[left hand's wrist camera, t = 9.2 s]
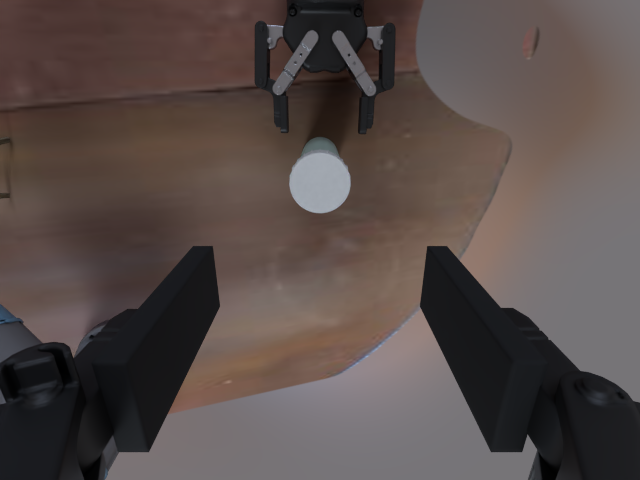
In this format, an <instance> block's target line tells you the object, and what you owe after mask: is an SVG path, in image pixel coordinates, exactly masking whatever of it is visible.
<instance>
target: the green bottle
mask: <svg viewBox="0 0 640 480" xmlns="http://www.w3.org/2000/svg"><path fill="white" fill-rule="evenodd" d="M319 149H321V150H327V151H328V150H329V151H330V152H332V153H334V154H335V153H336V154H337V156H339V154H338V151H337V148H336V146H335V145H334V143H333V142H332V141H331V140H329V139H327V138H324V137H316V138H313V139H311V140H309V141H308V142H307V143H306V145H305V146H304V148H303V151H302V154H301V156H303V155H304V153H305V154H306V153H308V152H310V151H311V150H319Z"/></svg>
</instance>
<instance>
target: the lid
mask: <svg viewBox="0 0 640 480" xmlns="http://www.w3.org/2000/svg"><path fill="white" fill-rule="evenodd" d="M292 169H293V170H292V172H291V174H290V176H289V177H290V183H289V185H290V190H291V194H292V196H293V198H294V199H295V201H296V202H297V203H298V204H299V205H300V206H301V207H302V208H304V209H306V210H308V211H310V212H314V213H326V212H330V211H333V210H334V209H336V208H338V207H339V206H340V205H341V204H342V203H343V202H344V201H345V199H346V198H347V196H348V194H349V191H350V186H351V182H350V177H351V176H350V174H349V172H348V170H347V169H348V167H347V165H345V163H344V162H343V159H341V158H340V157H339V156H337V154H336V153H335V154H334V153H332V152H330V151H329V150H328V151H327V150H321V149H319V150H311V151H310V152H308V153H306V154H305V153H304V155H303V156H301V157H300V158H298V159H297V162H296V163H295V165H293V167H292Z"/></svg>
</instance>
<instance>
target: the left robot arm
mask: <svg viewBox="0 0 640 480" xmlns="http://www.w3.org/2000/svg"><path fill="white" fill-rule="evenodd" d="M219 307H220V302H219V294H218V286H217V278H216V270H215V261H214V253H213V246H193V247H192V248H191V249H190V250H189V252H188V253H187V254H186V255H185V256H184V257H183V258H182V260H181V261H180V262H179V263H178V264H177V265H176V266H175V268H174V269H173V270H172V271H171V272H170V273H169V274H168V276H167V277H166V278H165V279H164V280H163V281H162V282H161V284H160V285H159V286H158V287H157V288H156V289H155V290H154V292H153V293H152V294H151V295H150V296H149V297H148V298H147V300H146V301H145V302H144V303H143V304H142V305H141V306H140V308H139V309H127V310H125V311H124V312H122V313H120V314H119V315H117V316H115V317H114V318H112V319H111V320H108V321H105V322H102V323H100V324H98V325H97V326H95V327H94V328H93V329H92V330H91V331H90V332H89V333H88V334H87V335H86V336H85V337H84V338H83V339H82V341H81V342H80V344H79V347H78V349H77V351H76V354H75V356H74V358H73V356H72V353H71V350H70V347H69V346H67V345H66V344H64V343H58V342H50V343H42V342H41V341H40V340H39V339H38V338H37V337H36V336H35V335H34V334H33V333H32V332H31V331H29V330H28V329H27V328H26V327H25V326H24V325H23V321H22V320H21V319H20V318H16V317H15V316H14V315H12V314H11V313H10V312H9V311H8V310H7V309H6V308H4V307H3V306H2V305H1V304H0V480H105V479H106V477H107V475H108V471H109V469H110V467H111V466H112V464H113V462H114V460H115V458H116V457H117V455H118V453H119V452H149V451H150V449H151V447H152V445H153V443H154V440H155V438H156V436H157V434H158V432H159V430H160V428H161V426H162V424H163V422H164V420H165V418H166V416H167V414H168V412H169V410H170V408H171V406H172V404H173V402H174V399H175V397H176V395H177V393H178V391H179V389H180V387H181V385H182V383H183V381H184V379H185V377H186V375H187V373H188V371H189V369H190V367H191V365H192V363H193V361H194V359H195V356H196V354H197V352H198V350H199V348H200V346H201V344H202V342H203V340H204V338H205V336H206V334H207V332H208V330H209V328H210V326H211V324H212V322H213V320H214V318H215V316H216V313H217V311H218V309H219ZM420 307H421V309H422V311H423V313H424V316H425V318H426V320H427V322H428V324H429V326H430V328H431V330H432V332H433V334H434V336H435V338H436V340H437V342H438V344H439V346H440V348H441V350H442V352H443V354H444V356H445V359H446V361H447V363H448V365H449V367H450V369H451V371H452V373H453V375H454V377H455V379H456V381H457V383H458V385H459V387H460V389H461V391H462V393H463V395H464V397H465V399H466V402H467V404H468V406H469V408H470V410H471V412H472V414H473V416H474V418H475V420H476V422H477V424H478V426H479V428H480V430H481V432H482V434H483V436H484V438H485V440H486V442H487V445H488V447H489V449H490V451H491V452H522V451H523V447H524V444H525V441H526V437H527V434H528V435H529V437H530V439H531V440H532V442H533V443H534V445H535V447H536V448H537V453H536V456H535V459H534V462H533V465H532V468H531V471H530V475H529V478H528V480H640V403H639V402H634V401H633V400H632V399H631V398H630V396H629V395H628V394H627V393H626V392H625V391H624V390H623V389H621V388H620V387H619V386H618V385H616V384H615V383H613V382H611V381H609V380H607V379H605V378H603V377H601V376H598V375H595V374H592V373H589V372H583V371H580V370H579V369H578V368H577V367H576V366H575V365H574V364H573V363H572V362H571V361H570V360H569V359H568V358H567V357H566V356H565V355H564V354H563V353H562V352H561V350H559V348H558V347H557V346H556V345H555V344H554V343H553V342H552V341H551V340H548V337H547V336H546V335H545V334H544V333H543V332H542V331H540V330H539V328H538V327H537V326H536V325H535V324H534V323H533V322H532V320H531V319H530V318H529V317H527V316H525V315H524V314H522V313H520V312H519V311H517V310H515V309H514V308H500V306H499V305H498V304H497V303H496V302H495V301H494V300H493V299H492V297H491V296H490V295H489V294H488V293H487V292H486V290H485V289H484V288H483V287H482V286H481V285H480V284H479V282H478V281H477V280H476V279H475V278H474V277H473V276H472V274H471V273H470V272H469V271H468V270H467V269H466V268H465V266H464V265H463V264H462V263H461V262H460V261H459V260H458V258H457V257H456V256H455V255H454V254H453V253H452V252H451V250H450V249H449V248H448V247H447V246H427V253H426V261H425V270H424V278H423V286H422V294H421V302H420Z"/></svg>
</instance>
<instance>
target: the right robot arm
mask: <svg viewBox="0 0 640 480" xmlns="http://www.w3.org/2000/svg"><path fill="white" fill-rule="evenodd" d="M363 12H364V0H287V18H286V22H285V24H284V26H276V25H266V23H265V22H263V21H258V22H257V23H256V25H255V84H256V86H257V87H259V88H262V89H264V90H267V91H269V92H270V93H271V94H272V95H273V98H274V123H275V125H276V127H281V133H288V132H289V118H288V96H286V91H287V90H288V88H289V87H290V86H291V84H292V83H293V81H294V80H295V79H296V77H297V76H298V74H299V73H300V72H301V70H302V69H303V68H304V69H305V70H306V71H309V72H310V73H317V72H321V71H328V72H331V73H339V72H341V71H343V70H345V69H346V70H347V71H348V73H349V74H350V76H351V77H352V79H353V80H354V81H355V83H356V84H357V86H358V87H359V89H360V90H361V92H362V97H361V98H360V99H359V120H358V133H359V134H366V131H367V128H371V127H372V125H373V113H374V99H375V97H376V95H377V94H378V93H381V92H383V91H386V90H389V89H391V88H392V87H393V86H394V67H395V26H394V25H393V24H392V23H387V24H386V25H385V26H377V27H367V26H366V24H365V21H364V15H363ZM281 38H284V40H285V42H286V43H287V45H288V46H289V48H290V49H291V51H292V52H293V55H292V57H291V58H290V60H289V61H288V63H287V64H286V66H285V68H284V70H283V72H282V73H281V75H280V76H279V78H278V79H277V81H275V80H272V79H270V50H273V49H275V48H276V46H277V42H278V40H279V39H281ZM366 39H369V40H370V41H371V42H372V46H373V48H374V50H376V51H379V80H378V81H375V82H372V80H371V78H370V77H369V75H368V74H367V72H366V70H365V68H364V66H363V64H362V63H361V61H360V60H359V58H358V56H357V55H356V54H357V52H358V51H359V49H360V48H361V47H362V45H363V44H364V42H365V41H366Z"/></svg>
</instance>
